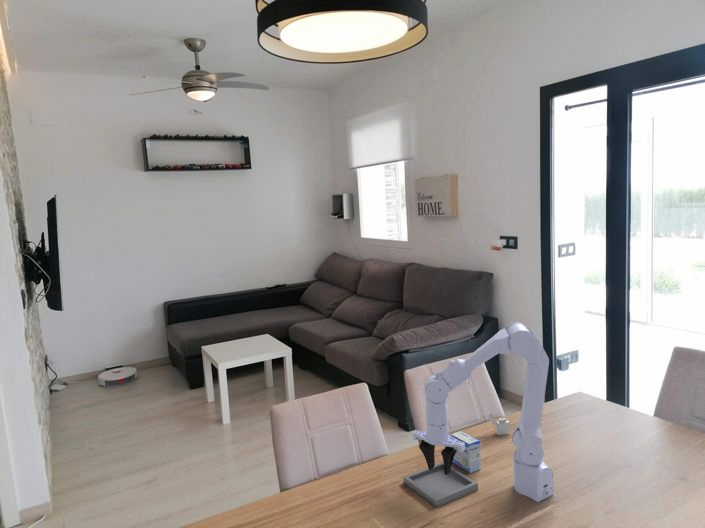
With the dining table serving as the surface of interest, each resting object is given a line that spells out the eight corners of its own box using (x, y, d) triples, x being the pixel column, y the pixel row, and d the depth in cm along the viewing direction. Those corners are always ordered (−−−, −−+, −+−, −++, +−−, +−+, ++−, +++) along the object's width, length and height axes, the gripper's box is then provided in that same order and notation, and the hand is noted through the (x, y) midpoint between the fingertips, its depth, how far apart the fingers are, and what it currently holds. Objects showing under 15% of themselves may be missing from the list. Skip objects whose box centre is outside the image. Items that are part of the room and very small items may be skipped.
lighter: (507, 432, 163) (507, 409, 163) (510, 434, 162) (509, 411, 161) (487, 435, 162) (486, 411, 162) (489, 437, 161) (488, 413, 160)
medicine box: (451, 462, 147) (449, 434, 146) (462, 458, 149) (461, 430, 148) (469, 473, 140) (468, 444, 139) (481, 469, 142) (480, 439, 141)
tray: (478, 489, 132) (477, 483, 131) (436, 507, 125) (436, 501, 125) (443, 467, 144) (443, 461, 144) (403, 483, 137) (403, 476, 137)
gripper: (469, 422, 131) (471, 471, 132) (421, 410, 140) (423, 457, 141) (457, 432, 126) (459, 483, 127) (407, 420, 135) (410, 468, 136)
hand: (439, 470), depth 134 cm, fingers open, 4 cm apart
